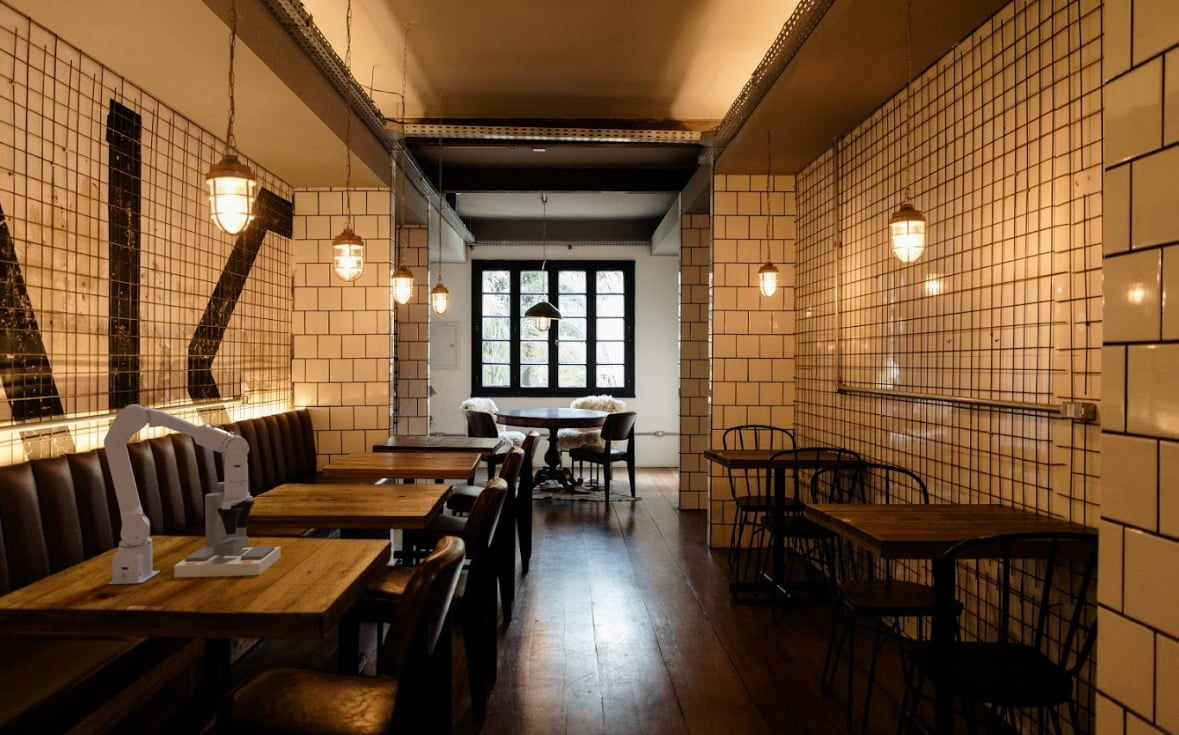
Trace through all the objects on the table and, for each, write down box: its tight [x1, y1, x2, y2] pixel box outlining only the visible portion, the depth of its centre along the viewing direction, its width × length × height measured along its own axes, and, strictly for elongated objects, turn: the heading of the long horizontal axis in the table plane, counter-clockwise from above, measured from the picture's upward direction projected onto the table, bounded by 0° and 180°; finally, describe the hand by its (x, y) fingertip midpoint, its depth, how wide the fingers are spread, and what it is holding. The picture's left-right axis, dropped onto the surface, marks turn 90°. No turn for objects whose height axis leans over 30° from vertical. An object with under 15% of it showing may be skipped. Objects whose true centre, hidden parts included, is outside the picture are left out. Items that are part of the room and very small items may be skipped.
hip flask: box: [204, 481, 247, 547], centre depth 217 cm, size 16×4×20 cm, turn 170°
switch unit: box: [173, 546, 282, 578], centre depth 200 cm, size 17×21×3 cm
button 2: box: [241, 545, 275, 560], centre depth 202 cm, size 11×5×2 cm, turn 5°
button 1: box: [184, 546, 213, 562], centre depth 200 cm, size 11×5×2 cm, turn 5°
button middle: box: [213, 536, 249, 556], centre depth 201 cm, size 11×5×2 cm, turn 5°
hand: (236, 530), depth 202 cm, fingers open, 7 cm apart
